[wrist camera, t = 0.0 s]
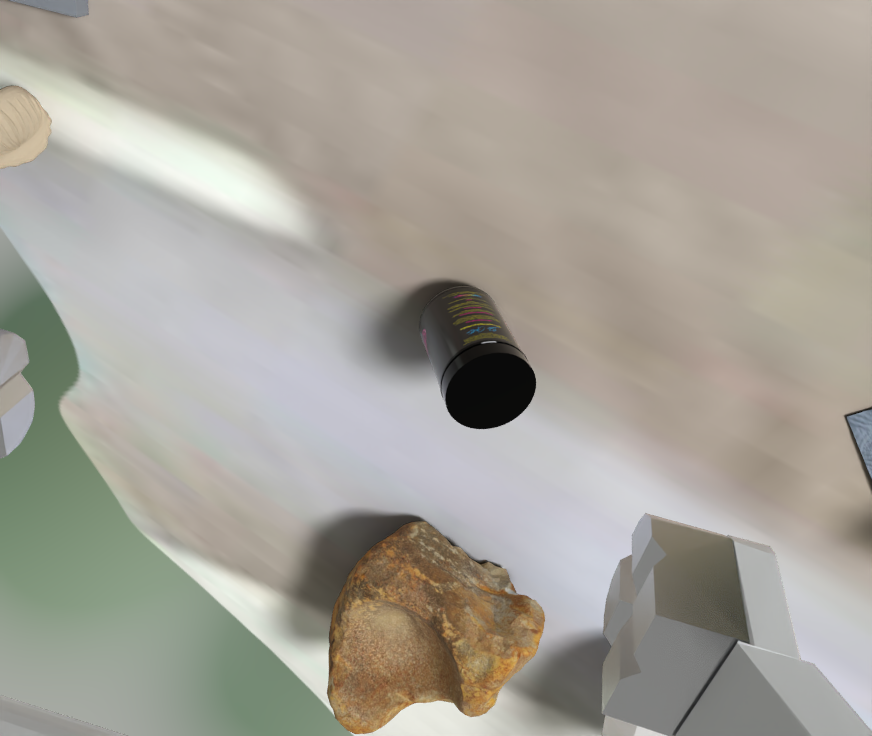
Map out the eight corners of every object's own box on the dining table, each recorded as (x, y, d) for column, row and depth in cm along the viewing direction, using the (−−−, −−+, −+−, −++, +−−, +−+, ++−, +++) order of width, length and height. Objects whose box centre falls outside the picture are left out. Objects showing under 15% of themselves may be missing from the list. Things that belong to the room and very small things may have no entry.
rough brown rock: (476, 466, 72) (446, 586, 59) (566, 582, 77) (555, 714, 65) (300, 540, 82) (242, 655, 70) (390, 637, 88) (351, 760, 76)
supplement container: (405, 300, 61) (432, 374, 52) (484, 269, 60) (524, 338, 52) (430, 363, 65) (460, 442, 56) (505, 334, 64) (545, 408, 56)
